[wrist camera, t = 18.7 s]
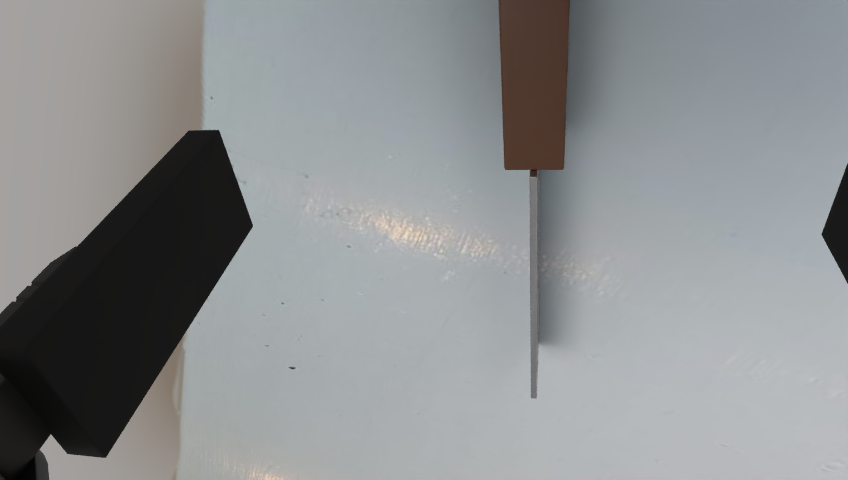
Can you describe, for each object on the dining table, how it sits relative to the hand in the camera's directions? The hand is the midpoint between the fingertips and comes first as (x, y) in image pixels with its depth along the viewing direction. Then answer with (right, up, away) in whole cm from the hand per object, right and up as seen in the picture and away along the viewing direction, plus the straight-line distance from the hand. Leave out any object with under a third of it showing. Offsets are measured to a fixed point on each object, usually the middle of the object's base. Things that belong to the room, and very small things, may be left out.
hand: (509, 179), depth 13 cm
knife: (+3, +2, +15) cm, 16 cm away
